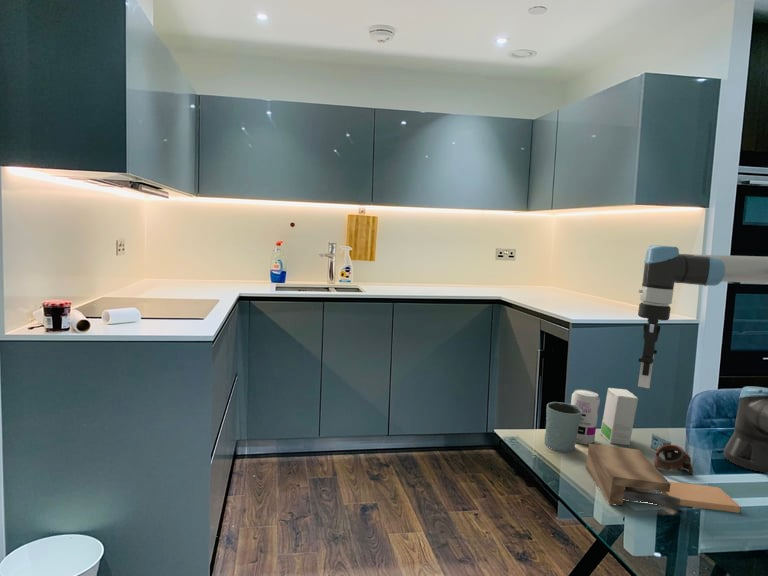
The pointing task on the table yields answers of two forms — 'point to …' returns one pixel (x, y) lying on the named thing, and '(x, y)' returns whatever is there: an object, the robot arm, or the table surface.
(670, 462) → the broken clay pot
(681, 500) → the terracotta panel
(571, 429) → the grey cylindrical pot
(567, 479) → the table surface
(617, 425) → the skincare box
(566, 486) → the table surface
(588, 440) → the supplement can
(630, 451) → the walnut shelf
